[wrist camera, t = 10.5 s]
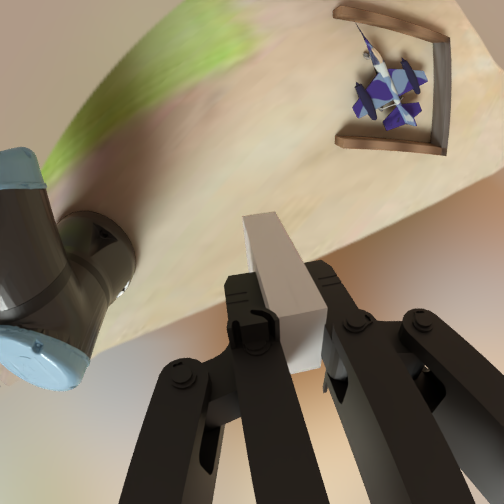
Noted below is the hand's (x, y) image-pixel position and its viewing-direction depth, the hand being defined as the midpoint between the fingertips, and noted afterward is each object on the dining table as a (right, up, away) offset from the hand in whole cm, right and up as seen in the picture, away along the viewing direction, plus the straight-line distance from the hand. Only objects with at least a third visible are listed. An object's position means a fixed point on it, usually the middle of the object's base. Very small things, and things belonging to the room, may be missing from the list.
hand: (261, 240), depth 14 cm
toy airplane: (+17, +23, +19) cm, 34 cm away
